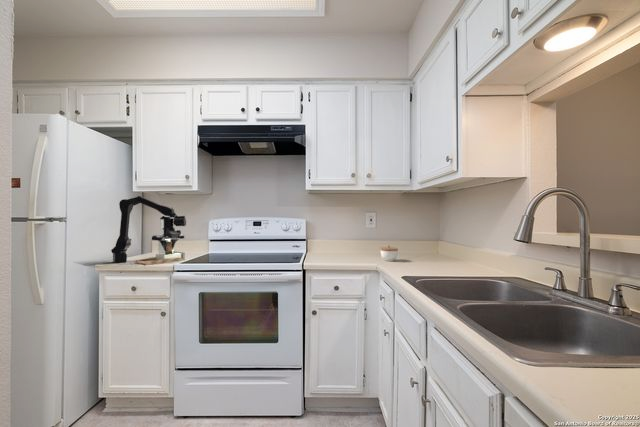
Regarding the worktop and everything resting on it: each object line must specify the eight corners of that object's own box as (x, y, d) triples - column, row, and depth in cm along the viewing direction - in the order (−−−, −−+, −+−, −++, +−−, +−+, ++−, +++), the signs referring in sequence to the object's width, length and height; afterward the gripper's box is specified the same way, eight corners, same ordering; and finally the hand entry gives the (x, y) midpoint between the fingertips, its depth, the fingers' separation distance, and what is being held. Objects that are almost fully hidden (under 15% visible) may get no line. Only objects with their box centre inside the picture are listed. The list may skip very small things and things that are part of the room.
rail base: (146, 265, 180) (146, 256, 180) (135, 263, 188) (135, 255, 188) (184, 260, 199) (184, 252, 200) (173, 258, 208) (173, 251, 208)
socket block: (164, 260, 190) (164, 255, 190) (155, 259, 197) (155, 254, 197) (181, 258, 199) (181, 253, 199) (172, 257, 206) (172, 252, 206)
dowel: (167, 254, 195) (167, 242, 195) (163, 254, 198) (163, 242, 198) (173, 254, 198) (173, 241, 198) (170, 253, 201) (169, 241, 201)
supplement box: (168, 258, 210) (168, 239, 210) (157, 258, 210) (157, 239, 210) (173, 256, 217) (173, 238, 217) (163, 256, 217) (163, 238, 217)
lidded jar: (400, 261, 188) (400, 246, 189) (384, 262, 186) (384, 246, 186) (393, 259, 199) (393, 244, 199) (377, 259, 197) (377, 245, 197)
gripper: (160, 227, 186) (160, 252, 186) (188, 226, 201) (188, 249, 201) (151, 226, 192) (151, 251, 192) (179, 225, 207) (179, 248, 207)
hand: (168, 250), depth 198 cm, fingers closed on dowel, 4 cm apart
